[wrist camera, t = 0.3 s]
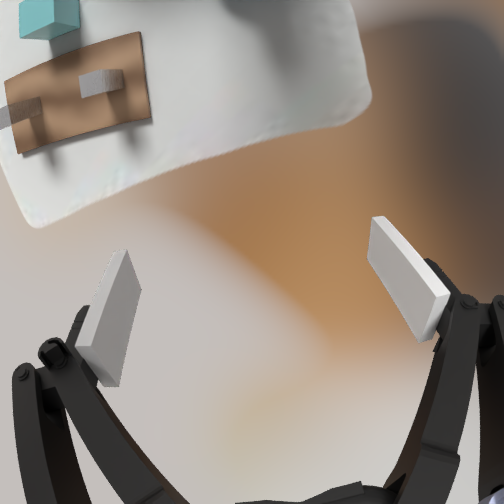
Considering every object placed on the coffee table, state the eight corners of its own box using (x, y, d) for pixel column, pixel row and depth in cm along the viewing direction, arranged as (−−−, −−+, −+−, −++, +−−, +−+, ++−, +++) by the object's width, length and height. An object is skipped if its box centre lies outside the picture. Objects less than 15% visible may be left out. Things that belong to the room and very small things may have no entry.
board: (7, 80, 29) (4, 81, 28) (140, 32, 30) (138, 31, 29) (21, 152, 35) (18, 154, 35) (151, 116, 36) (149, 117, 36)
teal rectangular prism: (47, 9, 25) (18, 3, 18) (78, -4, 25) (53, -14, 18) (48, 40, 27) (19, 38, 21) (80, 27, 28) (54, 21, 21)
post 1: (26, 101, 31) (-7, 111, 24) (39, 96, 31) (7, 104, 24) (29, 118, 32) (-3, 131, 26) (42, 113, 32) (11, 124, 26)
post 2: (103, 74, 31) (78, 76, 25) (122, 69, 31) (99, 69, 25) (106, 92, 33) (81, 98, 26) (124, 87, 33) (103, 92, 26)
